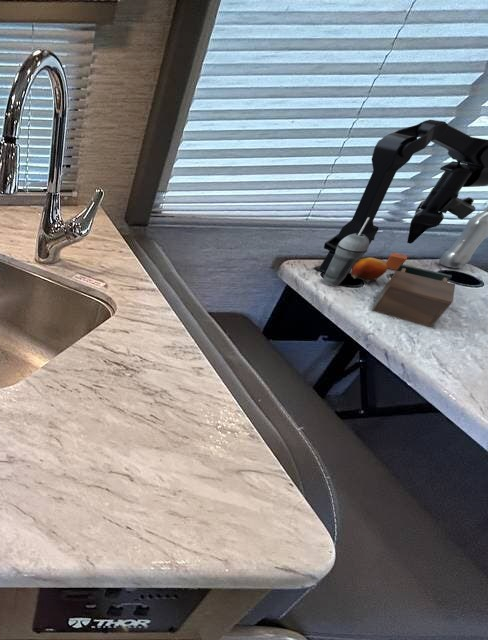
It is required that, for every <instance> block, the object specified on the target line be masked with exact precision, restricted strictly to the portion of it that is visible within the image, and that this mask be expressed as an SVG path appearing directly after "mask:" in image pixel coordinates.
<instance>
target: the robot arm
mask: <svg viewBox="0 0 488 640" xmlns="http://www.w3.org/2000/svg"><path fill="white" fill-rule="evenodd" d="M430 143H433V144H436V145H438V146H440V147H442V148H444V149H446V150H447V155H448V156H449V157H450V158H451V159H452V161H450V162H449V163H447V164H444V165H442V166H441V167H440V168H439V170H441V171H444V172H443V173H442V174H441V176H440V178H439V179H438V180H437V181H436V183H435V185H434V186H433V187H432V189H431V190H430V191H429V194H428V195H427V196H426V198H425V199H424V200H422V201H420V203H419V204H418V206H417V208H416V209H415V212H414V215H413V217H412V218H411V220H410V224H409V225H410V226H409V231H408V236H407V244H413V243H414V242H415V241H416V240H417V239H418V238H420V236H422V234H424V233H425V232H426V231H427V230H430V229H432V228H436V227H438V226H439V225H440V224H441V223H442V222H443V220H444V218H445V215H444V214H446V213H447V212H449V213H450V214H452V215H454V216H456V217H457V218H458V219H459V220H462V221H463V220H464V219H466V218H467V217H468V216H469V215H471V214H473V213H474V212H476V207H475V205H473V203H474V199H473V198H472V197H470V196H468V197H466V198H463V199H462V198H459V194H460V191H461V190H462V188H473V187H486V186H488V139H486V138H479V137H473V136H471V135H470V134H467V133H465V132H463V131H461V130H459V129H457V128H456V127H453V126H452V125H449V123H448V122H447V121H443V120H436V119H427V120H423V121H422V122H419V123H418V124H415V125H412V126H411V125H410V126H407V127H405V128H401V129H398V130H396V131H394V132H391V133H388V134H386V135H385V136H383V137H382V138H381V139H379V140H378V141H377V142H376V144H375V146H374V148H373V153H372V157H371V165H372V173H371V175H370V177H369V180H368V182H367V184H366V186H365V189H364V191H363V193H362V196H361V198H360V201H359V202H358V205H357V207H356V209H355V211H354V214H353V216H352V218H351V220H349V222H347V223H346V224H344V225H343V226H342V228H341V229H340V231H339V232H338V233H337V234H336V235H334V236H333V237H331V238H330V239H328V240H327V241H326V242H324V245H323V249H324V250H326V251H328V253H327V254H326V256H325V258H324V259H323V261H322V263H321V264H320V265H316V266H314V267H313V269H314V270H317V271H319V272H321V273H324V274H325V273H326V271H327V269H328V267H329V265H330V263H331V261H332V258H333V256H334V254H335V251H336V248H337V245H338V244H339V243H340V241H341V240H342V239H343V238H345V237H346V236H348V235H351V234H355V233H359V232H360V230H361V229H362V227H363V225H364V223H365V222H366V220H367V218H370V219H369V220H368V222H367V224H366V226H365V227H364V229H363V231H362V233H361V234H363V235H365V236H366V237H367V238H368V239H369V246H370V245H371V243H372V241H375V237H376V235H377V233H378V232H379V226H376V225H374V220H375V218H376V216H377V213H378V212H379V209H380V207H381V205H382V203H383V202H384V199H385V197H386V195H387V193H388V190H389V189H390V186H391V185H392V182H393V180H394V178H395V176H396V173H397V172H398V170H400V169H401V168H402V167H404V166H405V165H406V164H408V162H409V161H410V160H411V158H412V157H413V155H414V154H416V153H418V152H420V151H422V150H425V149H426V148H427V147H428V145H429V144H430Z"/></svg>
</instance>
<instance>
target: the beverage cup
mask: <svg viewBox="0 0 488 640" xmlns="http://www.w3.org/2000/svg"><path fill="white" fill-rule="evenodd" d="M369 219H370V218H367V220H366V222H365V223H364V225H363V227H362V229H361V230H360V232H359V233H355V234H351V235H348V236H346V237H345V238H343V239H342V240H341V241H340V243H339V244H338V245H337V248H336V251H335V254H334V256H333V258H332V261H331V263H330V265H329V267H328V269H327V271H326V273H324V275H323V277H322V280H321V282H322V283H323V284H325V285H327V286H330V287H338V286H340V285H341V284H342V282H343V281H344V280H345V279H346V277H347V276H348V275H349V274H350V273H351V271H352V268H353V267H354V265H355V264H356V263H357V261H358V260H359V259H362V257H363V256H364V255H365V254H366V252H368V249H369V247H370V245H369V239H368V238H367V237H366V236H365V235H363V234H361V233H362V231H363V229H364V227H365V226H366V224H367V222H368V220H369Z"/></svg>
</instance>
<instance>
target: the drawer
mask: <svg viewBox="0 0 488 640" xmlns="http://www.w3.org/2000/svg"><path fill="white" fill-rule="evenodd" d="M396 271H401V272H406V273H410V274H414V275H419V276H423V277H427V278H431V279H436V280H440V281H444V282H449V281H450V280H451V279H452V276H453V275H452V274H447V273H443V272H438V271H434V270H430V269H425V268H420V267H416V266H411V265H409V264H408V265H407V264H404V263H403V264H401V265H400V266H399V268H398V269H397V270H396Z"/></svg>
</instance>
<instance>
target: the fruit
mask: <svg viewBox="0 0 488 640" xmlns="http://www.w3.org/2000/svg"><path fill="white" fill-rule="evenodd" d="M387 270H388V268H387V265H386V261H384V260H382V259H379V258H375V257H369V256H368V257H363V258H360V259H359V260H358V261H357V263H356V264H355V265H354V267H353V268H352V269H351V271H350V276H351V277H352V278H353V280H357V279H358V280H363V281H365V282H366V283H367V284H369V282H372V281H375V280H377V279H379V278H380V277H382V276H383V275H384V274H385V273H386V272H387Z"/></svg>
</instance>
